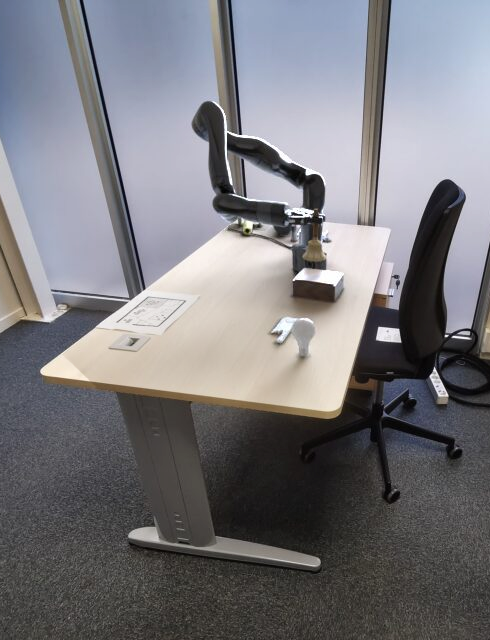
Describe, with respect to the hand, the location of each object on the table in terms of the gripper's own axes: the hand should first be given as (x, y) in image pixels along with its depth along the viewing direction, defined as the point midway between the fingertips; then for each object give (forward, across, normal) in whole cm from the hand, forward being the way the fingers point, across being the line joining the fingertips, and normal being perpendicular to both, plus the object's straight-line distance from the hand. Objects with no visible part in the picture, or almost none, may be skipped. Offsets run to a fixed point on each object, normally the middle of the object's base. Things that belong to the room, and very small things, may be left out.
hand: (323, 219), depth 143 cm
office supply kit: (-29, -74, -26) cm, 84 cm away
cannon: (-56, -67, -26) cm, 91 cm away
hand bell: (-3, 0, -13) cm, 14 cm away
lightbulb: (+7, +43, -26) cm, 51 cm away
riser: (-1, -1, -26) cm, 26 cm away
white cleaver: (-4, +32, -26) cm, 41 cm away
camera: (-10, -17, -26) cm, 33 cm away
